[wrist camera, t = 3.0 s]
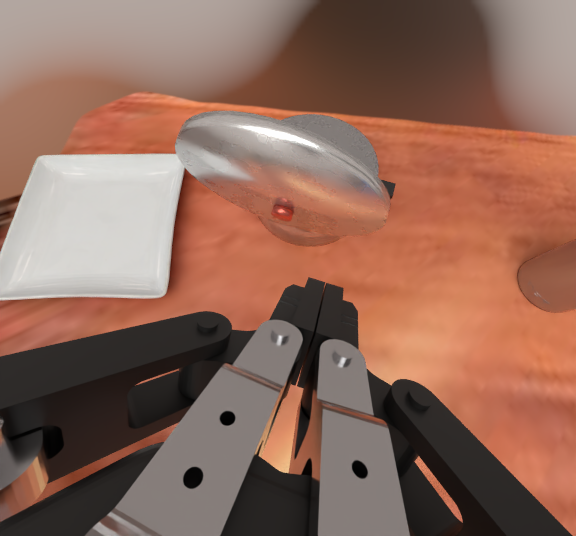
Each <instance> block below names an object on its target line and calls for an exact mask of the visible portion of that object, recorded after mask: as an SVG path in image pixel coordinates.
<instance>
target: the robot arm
mask: <svg viewBox="0 0 576 536" xmlns="http://www.w3.org/2000/svg"><path fill="white" fill-rule="evenodd" d="M518 282H519V286H520V288H521V290H522V292H523V293H524V295H525V296H526V297H527V298H528V300H529V301H530V302H532V303H533V304H534V305H536V306H537V307H539V308H541V309H543V310H546V311H548V312H554V313H559V312H566V311H571V310H575V309H576V239H575V240H572V241H570V242H568V243H566V244H564V245H561V246H559V247H557V248H555V249H553V250H550V251H548V252H546V253H544V254H541V255H539V256H537V257H535V258H533V259H530V260H528V261H526V262H525V263H524V264H523V265H522V266H521V267H520V269H519V273H518ZM324 285H325V282H322V281H319V280H316V279H313V278H310V277H309V278H308V280H307V283H306V286H305V288H303V287H300V286H297V285H294V284H293V285H291V286H289V287H287V288H285V290H284V292H283V294H282V296H281V298H280V300H279V302H278V304H277V306H276V308H275V310H274V312H273V314H272V316H271V318H270V320H269V321H266V322H264V323H262V324H261V325H260V326H259V328H258V329H257V330H254V331H239V330H232V325H231V323H230V321H229V320H228V319H227V318H226V317H225V316H223V315H221V314H218V313H215V312H207V311H205V312H197V313H193V314H188V315H184V316H179V317H175V318H170V319H166V320H161V321H157V322H153V323H148V324H144V325H139V326H135V327H130V328H126V329H121V330H117V331H112V332H108V333H104V334H99V335H95V336H90V337H86V338H81V339H77V340H72V341H68V342H63V343H59V344H54V345H50V346H46V347H41V348H37V349H32V350H28V351H23V352H19V353H14V354H10V355H5V356H1V357H0V536H572V535H571V534H570V533H569V532H568V531H567V530H566V529H565V528H564V527H563V526H562V525H561V524H560V523H559V522H558V521H557V520H556V519H555V517H554V516H553V515H552V514H551V513H550V512H549V511H548V510H547V509H546V508H545V507H544V506H543V505H542V504H541V503H540V502H539V501H538V500H537V499H536V498H535V497H534V496H533V495H532V494H531V493H530V492H529V491H528V490H527V489H526V488H525V487H524V486H523V485H522V484H521V483H520V482H519V481H518V480H517V479H516V478H515V477H514V476H513V475H512V474H511V473H510V472H509V471H508V470H507V469H506V468H505V467H504V466H503V464H502V463H501V462H500V461H499V460H498V459H497V458H496V457H495V456H494V455H493V454H492V453H491V452H490V451H489V450H488V449H487V448H486V447H485V446H484V445H483V444H482V443H481V442H480V441H479V440H478V439H477V438H476V437H475V436H474V435H473V434H472V433H471V432H470V431H469V430H468V429H467V428H466V427H465V426H464V425H463V424H462V423H461V422H460V421H459V420H458V419H457V418H456V417H455V416H454V415H453V414H452V413H451V412H450V410H449V409H448V408H447V407H446V406H445V405H444V404H443V403H442V402H441V401H440V400H439V399H438V398H437V397H436V396H435V395H434V394H433V393H432V392H431V391H429V390H428V389H427V388H425V387H424V386H422V385H420V384H419V383H416V382H414V381H411V380H407V379H400V380H397V381H395V382H394V383H393V384H392V386H391V385H389V384H388V383H386V382H384V381H383V380H381V379H379V378H378V377H376V376H375V375H373V374H372V373H371V372H370V371H369V370H368V369H367V368H366V362H365V359H364V357H363V355H362V354H361V352H360V351H359V350H358V311H357V310H356V308H355V306H354V305H353V303H350V302H347V301H344V300H343V288H341V287H338V286H335V285H332V284H329V283H326V285H325V288H324ZM323 290H324V291H323ZM301 368H302V369H301ZM176 369H179V371H176V372H173V373H170V374H167V375H165V376H162V377H159V378H156V379H153V380H150V381H147V382H145V383H142V384H139V385H136V384H138V383H139V382H141V381H144V380H147V379H150V378H153V377H155V376H158V375H161V374H164V373H167V372H170V371H173V370H176ZM300 370H301V373H300ZM299 373H300V377H299V381H298V385H297V386H298V387H301V388H304V390H303V395H302V398H301V401H300V403H299V406H298V410H297V417H296V424H295V432H294V439H293V447H292V454H291V461H290V468H289V473H283V472H280V471H278V470H277V469H275V468H274V467H273V466H271V465H270V464H269V463H267V462H266V461H265V460H263V459H262V458H261V456H262V454H263V451H264V449H265V446H266V444H267V441H268V438H269V436H270V433H271V431H272V428H273V426H274V423H275V420H276V418H277V415H278V413H279V410H280V408H281V405H282V402H283V399H284V398H285V397H286V396H287V393H288V391H289V388H290V385H291V384H292V385H296V382H297V379H298V376H299ZM135 385H136V386H135ZM178 422H179V424H178V425H177V426H176V428H175V429H174V430H173V432H172V433H171V434H170V436H169V437H168V438H167V440H166V441H165V442H161V443H157V444H154V445H150V446H148V447H145V448H143V449H140V450H138V451H136V452H134V453H132V454H130V455H128V456H126V457H124V458H122V459H120V460H118V461H116V462H114V463H112V464H110V465H109V466H107V467H105V468H103V469H101V470H99V471H97V472H95V473H93V474H91V475H89V476H87V477H86V478H84V479H82V480H80V481H78V482H76V483H74V484H72V485H70V486H68V487H66V488H64V489H63V490H61V491H59V492H57V493H55V494H53V495H51V496H49V497H47V498H45V499H43V500H41V501H40V502H38V503H36V504H34V505H32V504H33V503H34V502H35V501H36V500H37V498H38V497H39V496H40V494H41V493H42V491H43V490H44V488H45V486H46V484H48V483H50V482H52V481H54V480H56V479H59V478H61V477H63V476H65V475H67V474H69V473H71V472H73V471H76V470H78V469H80V468H82V467H84V466H86V465H88V464H91V463H93V462H95V461H97V460H99V459H101V458H103V457H105V456H108V455H110V454H112V453H114V452H116V451H118V450H120V449H123V448H125V447H127V446H129V445H131V444H133V443H135V442H137V441H140V440H142V439H144V438H146V437H148V436H150V435H152V434H155V433H157V432H159V431H161V430H163V429H165V428H167V427H169V426H172V425H174V424H176V423H178ZM418 456H420V458H421V459H422V460H423V462H424V463H425V464H426V466H427V467H428V468H429V469H430V471H431V472H432V473H433V475H434V476H435V477H436V478H437V480H438V481H439V482H440V484H441V485H442V486H443V488H444V489H445V490H446V491H447V493H448V494H449V495H450V497H451V498H452V499H453V501H454V502H455V503H456V505H457V507H458V508H459V510H460V513H461V515H462V519H463V523H462V522H461V521H459V520H458V519H457V518H456V517H455V516H454V514H453V513H452V512H451V510H450V509H449V508H448V506H447V505H446V504H445V502H444V501H443V500H442V498H441V497H440V496H439V494H438V493H437V492H436V490H435V489H434V488H433V486H432V485H431V484H430V482H429V481H428V480H427V478H426V477H425V475H424V474H423V473H422V471H421V470H420V469H419V467H418V466H417V465H416V463H415V462H414V461H415V460H416V459H417V457H418ZM31 505H32V506H31Z"/></svg>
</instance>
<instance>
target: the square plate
mask: <svg viewBox="0 0 576 536" xmlns="http://www.w3.org/2000/svg"><path fill="white" fill-rule="evenodd" d="M184 171H185V167H184V166H183V165H182V163H181V162H180V160H179V158H178V156H177V154H90V155H45V156H39V157H38V158H37V160H36V161H35V164H34V166H33V169H32V171H31V174H30V177H29V179H28V181H27V184H26V187H25V189H24V191H23V194H22V197H21V199H20V202H19V204H18V207H17V210H16V212H15V215H14V218H13V220H12V223H11V226H10V228H9V231H8V234H7V236H6V239H5V242H4V244H3V247H2V250H1V252H0V300H19V299H35V298H57V297H110V298H160V297H162V296H164V295H165V294H166V292H167V288H168V283H169V276H170V263H171V252H172V242H173V231H174V224H175V218H176V212H177V205H178V200H179V195H180V190H181V186H182V181H183V176H184Z"/></svg>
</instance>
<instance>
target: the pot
mask: <svg viewBox="0 0 576 536" xmlns="http://www.w3.org/2000/svg"><path fill="white" fill-rule="evenodd" d="M281 121H284V122H287V123H290V124H293V125H295V126H298V127H301V128H303V129H306V130H308V131H311V132H313V133H315V134H317V135H319V136H321V137H323V138H325V139H327V140H329V141H331V142H333V143H335V144H336V145H338V146H340V147H341V148H343V149H345V150H347V151H348V152H349V153H351V154H352V155H354V156H355V157H356V158H358V159H359V160H361V161H362V162H363V163H364V164H365V165H366V166H368V167H369V168H370V169H371V170H372V171H373V172H374V173H375V174H376V175H377V176H378V160H377V156H376V153H375V151H374V149H373V147H372V145H371V144H370V142H369V141H368V139H367V138H366V137H365V136H364V135H363V134H362V133H361V132H360V131H359V130H357V129H356V128H355V127H353V126H352V125H350V124H348V123H346V122H344V121H342V120H339V119H336V118H333V117H329V116H324V115H316V114H306V115H297V116H292V117H289V118H286V119H283V120H281ZM381 181H382V183H383V184H384V186H385V187H386V189H387V191H388V194H389V196H390V200H391V198H392V196H393V192H394V188H395V183H391V182H387V181H384V180H381ZM258 217H259V219H260V220H261V222H262V224H263V225H264V226H265V227H266V228H267V229H268V230H269V231H270V232H271V233H272V234H273V235H275V236H276V237H278V238H280V239H281V240H283V241H286V242H288V243H291V244H295V245H299V246H321V245H326V244H329V243H332V242H335V241H337V240H339V239H340V238H342V237H344V236H333V235H325V234H319V233H314V232H306V231H302V230H299V229H296V228H293V227H289V226H286V225H283V224H279V223H276V222H273V221H269V220H268V219H266V218H264V217H261V216H259V215H258Z"/></svg>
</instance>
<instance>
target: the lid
mask: <svg viewBox="0 0 576 536" xmlns="http://www.w3.org/2000/svg"><path fill="white" fill-rule="evenodd" d="M175 151H176V154H177V156H178V158H179V160H180V162H181V163H182V165H183V166H184V167H185V168H186V169H187V170H188V171H189V172H190V173H191V174H192V175H193V176H194V177H195V178H196V179H197V180H198V181H199V182H201V183H202V184H203V185H205V186H206V187H207V188H209V189H210V190H212V191H213V192H215V193H216V194H218V195H219V196H221V197H223V198H224V199H226V200H228V201H230V202H232V203H233V204H235V205H237V206H239V207H241V208H243V209H245V210H248V211H250V212H252V213H254V214H257V215H259V216H261V217H264V218H266V219H268V220H269V221H273V222H276V223H279V224H283V225H286V226H289V227H293V228H296V229H299V230H302V231H306V232H314V233H319V234H325V235H333V236H362V235H367V234H371V233H374V232H376V231H378V230H379V229H381V228H382V227H383V226H384V224H385V223H386V220H387V216H388V213H389V209H390V205H391V203H390V196H389V194H388V191H387V189H386V187H385V186H384V184H383V183H382V181H381V180H380V179H379V178H378V176H377V175H376V174H375V173H374V172H373V171H372V170H371V169H370V168H369V167H368V166H366V165H365V164H364V163H363V162H362V161H361V160H359V159H358V158H356V157H355V156H354V155H352V154H351V153H349V152H348V151H347V150H345V149H343V148H341V147H340V146H338V145H336V144H335V143H333V142H331V141H329V140H327V139H325V138H323V137H321V136H319V135H317V134H315V133H313V132H311V131H308V130H306V129H303V128H301V127H298V126H295V125H293V124H290V123H287V122H284V121H280V120H277V119H274V118H271V117H266V116H262V115H257V114H252V113H245V112H237V111H212V112H204V113H201V114H198V115H195V116H193V117H191V118H189V119H188V120H186V121H185V123H184V124H183V125H182V127H181V129H180V132H179V134H178V137H177V140H176V143H175Z"/></svg>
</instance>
